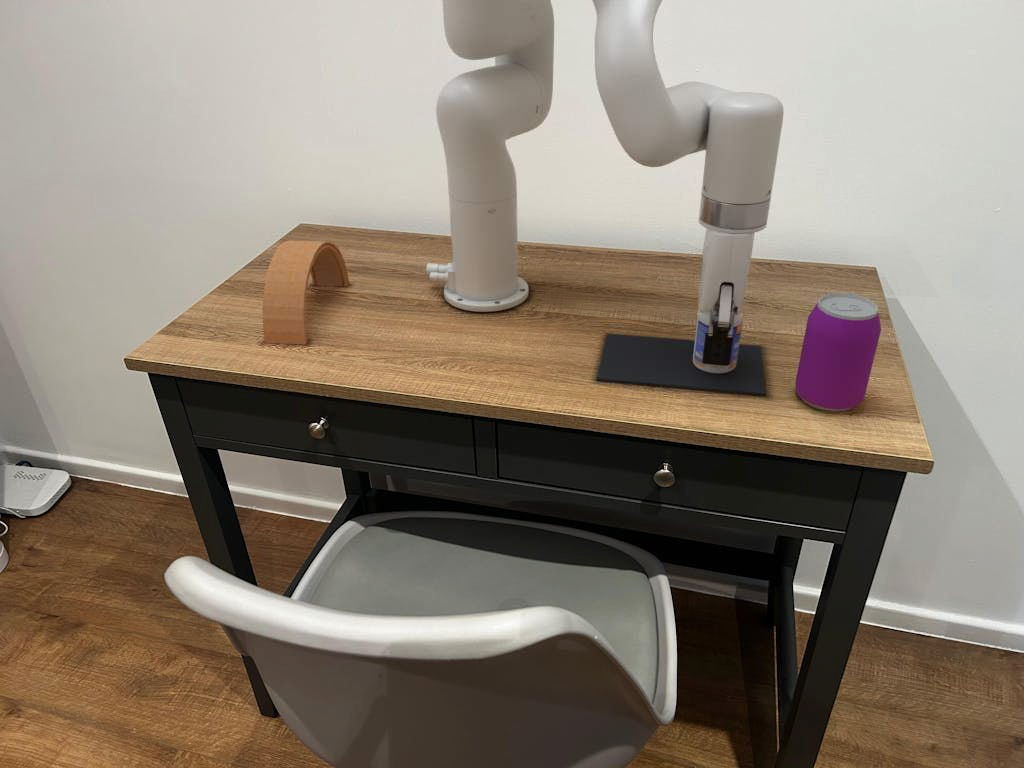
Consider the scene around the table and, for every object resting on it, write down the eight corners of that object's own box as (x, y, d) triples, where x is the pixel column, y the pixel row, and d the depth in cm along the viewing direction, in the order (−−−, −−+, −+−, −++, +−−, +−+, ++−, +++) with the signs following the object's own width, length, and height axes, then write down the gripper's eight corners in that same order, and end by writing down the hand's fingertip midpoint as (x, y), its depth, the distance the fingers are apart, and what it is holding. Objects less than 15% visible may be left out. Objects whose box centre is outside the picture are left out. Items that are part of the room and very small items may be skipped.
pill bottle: (740, 374, 98) (751, 302, 93) (696, 375, 98) (705, 302, 93) (730, 353, 103) (741, 283, 98) (688, 353, 103) (696, 283, 98)
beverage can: (855, 383, 97) (877, 291, 91) (868, 417, 90) (893, 322, 84) (789, 378, 98) (806, 288, 92) (798, 412, 91) (817, 318, 85)
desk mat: (596, 380, 98) (596, 378, 98) (606, 335, 108) (606, 333, 108) (766, 396, 95) (766, 393, 94) (760, 348, 105) (760, 345, 104)
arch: (350, 283, 124) (342, 221, 119) (305, 344, 107) (293, 275, 102) (314, 282, 125) (304, 220, 120) (264, 342, 108) (250, 273, 103)
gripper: (700, 185, 98) (686, 318, 107) (699, 235, 84) (682, 384, 93) (763, 188, 97) (743, 323, 106) (774, 239, 82) (749, 390, 92)
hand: (715, 350), depth 99 cm, fingers closed on pill bottle, 5 cm apart
